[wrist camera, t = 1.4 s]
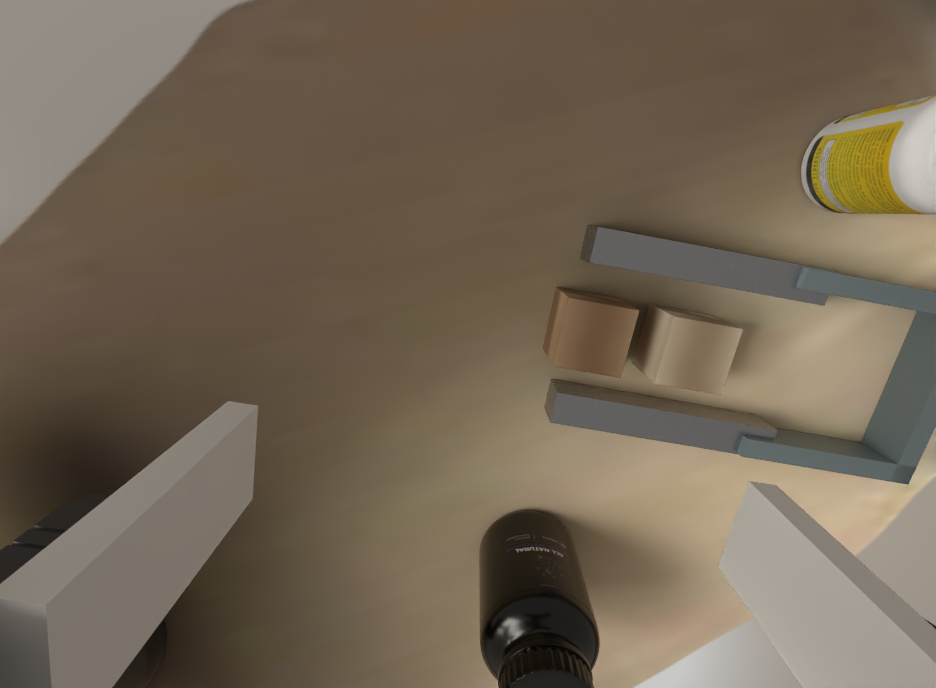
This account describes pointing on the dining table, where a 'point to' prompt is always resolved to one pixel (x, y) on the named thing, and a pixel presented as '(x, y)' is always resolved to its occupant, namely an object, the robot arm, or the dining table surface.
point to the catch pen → (900, 406)
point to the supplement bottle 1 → (535, 605)
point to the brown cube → (589, 332)
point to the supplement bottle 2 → (875, 161)
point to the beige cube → (686, 349)
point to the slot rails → (661, 414)
